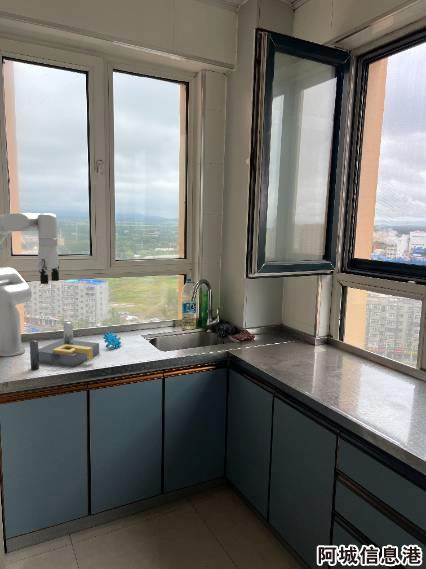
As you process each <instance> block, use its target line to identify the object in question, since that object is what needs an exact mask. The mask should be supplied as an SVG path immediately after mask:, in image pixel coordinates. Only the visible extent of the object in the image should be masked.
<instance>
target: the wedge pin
mask: <svg viewBox="0 0 426 569" xmlns="http://www.w3.org/2000/svg"><path fill="white" fill-rule="evenodd" d="M38 349H39V340H38V339H32V340H31V339H30V340H29V353H30V354H29V355H30V356H29V358H30V370H31V371H37V370H39V369H40V363H39V353H38Z"/></svg>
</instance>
